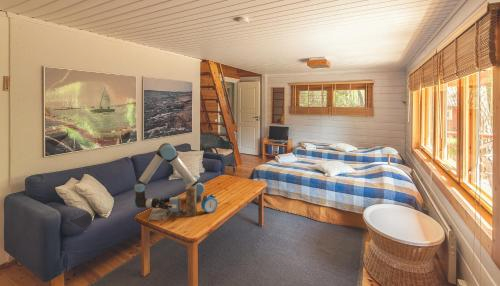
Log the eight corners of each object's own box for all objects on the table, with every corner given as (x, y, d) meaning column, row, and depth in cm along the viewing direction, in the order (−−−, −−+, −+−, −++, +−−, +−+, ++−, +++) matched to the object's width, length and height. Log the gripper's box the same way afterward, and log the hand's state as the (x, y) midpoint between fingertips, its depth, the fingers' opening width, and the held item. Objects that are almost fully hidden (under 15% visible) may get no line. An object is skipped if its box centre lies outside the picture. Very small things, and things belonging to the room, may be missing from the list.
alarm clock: (203, 214, 218) (203, 197, 215) (200, 212, 223) (200, 195, 220) (217, 211, 225) (217, 194, 223) (214, 208, 230) (214, 192, 228)
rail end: (170, 215, 216) (169, 199, 213) (171, 213, 220) (170, 197, 218) (179, 215, 216) (179, 199, 214) (181, 213, 220) (180, 197, 218)
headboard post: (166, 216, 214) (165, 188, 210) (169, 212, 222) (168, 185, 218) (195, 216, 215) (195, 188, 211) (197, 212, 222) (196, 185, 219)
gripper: (157, 201, 229) (182, 201, 229) (147, 213, 204) (174, 213, 205) (157, 193, 228) (181, 193, 228) (146, 204, 203) (174, 204, 204)
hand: (178, 203), depth 217 cm, fingers open, 13 cm apart
